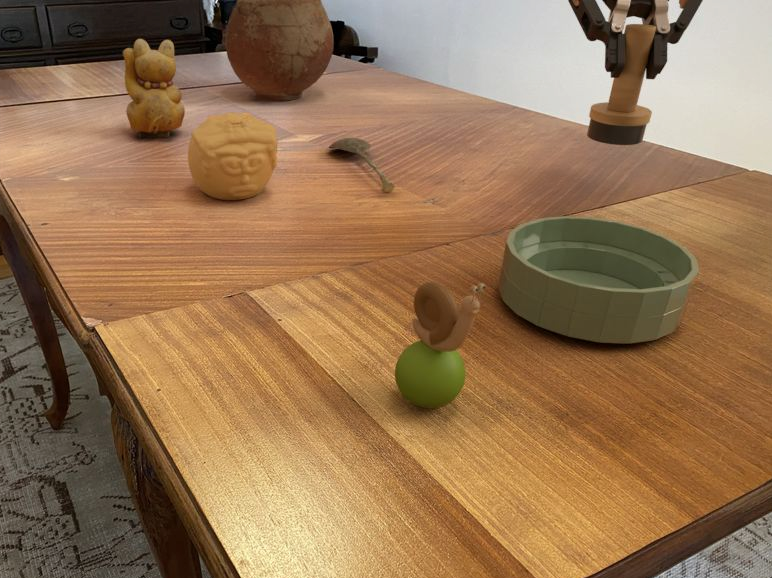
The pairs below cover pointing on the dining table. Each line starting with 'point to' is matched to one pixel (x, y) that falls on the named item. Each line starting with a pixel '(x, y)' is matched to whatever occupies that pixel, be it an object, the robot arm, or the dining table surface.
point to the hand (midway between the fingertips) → (635, 73)
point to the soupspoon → (358, 148)
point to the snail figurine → (436, 346)
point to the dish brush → (625, 94)
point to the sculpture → (232, 155)
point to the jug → (279, 45)
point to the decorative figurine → (152, 90)
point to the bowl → (597, 279)
